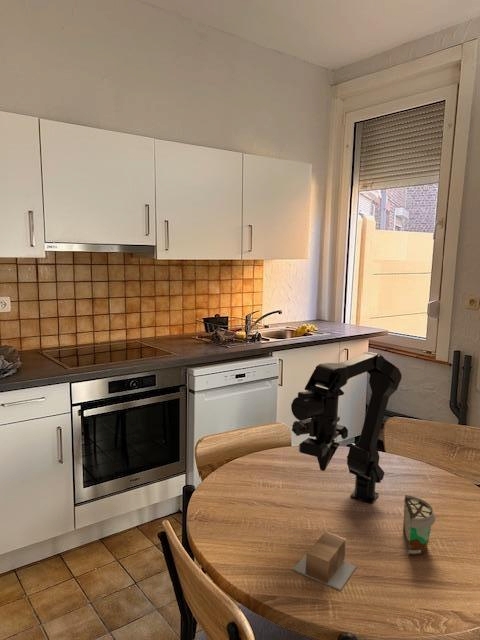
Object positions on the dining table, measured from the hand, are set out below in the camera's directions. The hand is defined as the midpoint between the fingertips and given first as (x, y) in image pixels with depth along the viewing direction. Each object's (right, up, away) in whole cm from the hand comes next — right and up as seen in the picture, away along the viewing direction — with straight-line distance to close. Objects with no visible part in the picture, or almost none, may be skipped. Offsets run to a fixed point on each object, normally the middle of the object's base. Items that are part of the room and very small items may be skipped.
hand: (322, 470), depth 125 cm
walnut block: (0, -12, -16) cm, 20 cm away
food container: (+21, -15, -10) cm, 28 cm away
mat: (-3, -16, -20) cm, 25 cm away
